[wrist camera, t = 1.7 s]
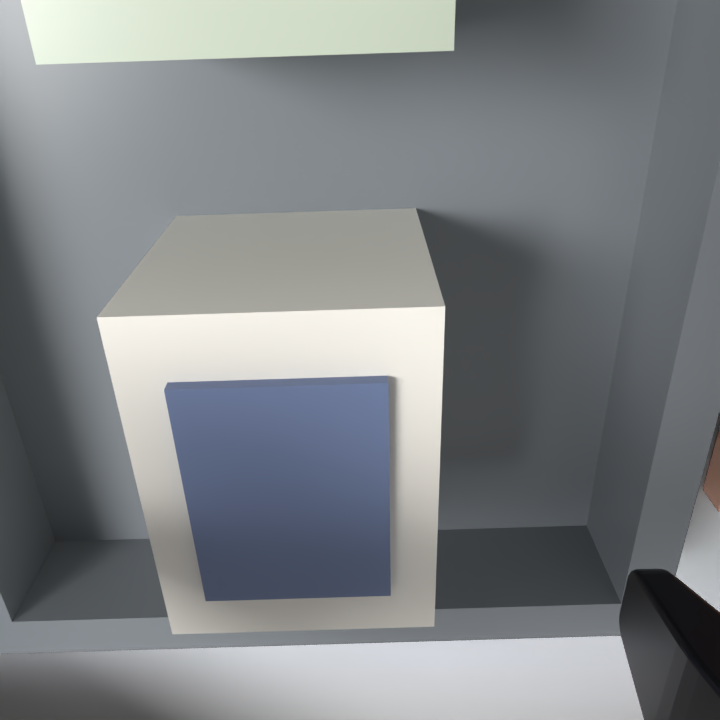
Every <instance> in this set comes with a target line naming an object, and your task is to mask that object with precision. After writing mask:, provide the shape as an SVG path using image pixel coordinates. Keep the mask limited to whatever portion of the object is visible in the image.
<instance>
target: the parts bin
mask: <svg viewBox="0 0 720 720" xmlns="http://www.w3.org/2000/svg"><path fill="white" fill-rule="evenodd" d="M406 208H416V210H417V214H418V217H419V220H420V224H421V227H422V230H423V234H424V237H425V240H426V244H427V247H428V250H429V254H430V257H431V260H432V264H433V267H434V270H435V274H436V277H437V281H438V284H439V287H440V291H441V294H442V297H443V301H444V304H445V329H444V358H443V387H442V417H441V446H440V476H439V505H438V534H437V564H436V593H435V622H434V627H407V628H373V629H339V630H305V631H272V632H238V633H204V634H172V631H171V627H170V622H169V618H168V614H167V610H166V606H165V601H164V597H163V593H162V589H161V585H160V581H159V576H158V572H157V568H156V564H155V560H154V555H153V551H152V547H151V543H150V539H149V535H148V530H147V526H146V522H145V518H144V514H143V510H142V505H141V501H140V497H139V493H138V489H137V484H136V480H135V476H134V472H133V468H132V464H131V459H130V455H129V451H128V447H127V443H126V438H125V434H124V430H123V426H122V422H121V418H120V413H119V409H118V405H117V401H116V397H115V393H114V388H113V384H112V380H111V376H110V372H109V367H108V363H107V359H106V355H105V351H104V347H103V342H102V338H101V334H100V330H99V326H98V321H97V316H98V315H99V314H100V312H101V311H102V310H103V309H104V307H105V306H106V305H107V304H108V302H109V301H110V300H111V298H112V297H113V296H114V295H115V293H116V292H117V291H118V289H119V288H120V287H121V286H122V284H123V283H124V282H125V281H126V279H127V278H128V277H129V275H130V274H131V273H132V272H133V270H134V269H135V268H136V267H137V265H138V264H139V263H140V261H141V260H142V259H143V258H144V256H145V255H146V254H147V253H148V251H149V250H150V249H151V247H152V246H153V245H154V244H155V242H156V241H157V240H158V238H159V237H160V236H161V235H162V233H163V232H164V231H165V230H166V228H167V227H168V226H169V224H170V223H171V222H172V221H173V219H174V218H175V217H176V216H190V215H221V214H252V213H283V212H313V211H344V210H375V209H406ZM719 412H720V0H456V5H455V35H454V51H431V52H401V53H371V54H341V55H311V56H281V57H251V58H221V59H191V60H161V61H131V62H101V63H71V64H41V65H36V62H35V58H34V54H33V50H32V46H31V42H30V37H29V33H28V29H27V25H26V21H25V16H24V12H23V8H22V4H21V0H0V654H14V653H48V652H82V651H115V650H149V649H183V648H217V647H250V646H284V645H318V644H352V643H386V642H419V641H453V640H487V639H521V638H555V637H588V636H621V634H620V628H619V614H620V609H621V605H622V600H623V596H624V591H625V587H626V582H627V578H628V575H629V574H630V572H631V571H633V570H635V569H665V570H667V571H669V572H670V573H672V574H673V575H674V576H675V575H676V571H677V568H678V564H679V560H680V557H681V553H682V549H683V546H684V542H685V538H686V534H687V531H688V527H689V523H690V520H691V516H692V512H693V508H694V505H695V501H696V497H697V494H698V490H699V486H700V482H701V479H702V475H703V471H704V468H705V464H706V460H707V456H708V453H709V449H710V445H711V442H712V438H713V434H714V430H715V427H716V423H717V419H718V416H719Z"/></svg>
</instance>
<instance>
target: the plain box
mask: <svg viewBox="0 0 720 720" xmlns="http://www.w3.org/2000/svg"><path fill="white" fill-rule="evenodd" d="M21 4H22V8H23V12H24V16H25V21H26V25H27V29H28V33H29V37H30V42H31V46H32V50H33V54H34V58H35V62H36V65H41V64H71V63H101V62H131V61H161V60H191V59H221V58H251V57H281V56H311V55H341V54H371V53H401V52H431V51H454V35H455V5H456V0H21Z"/></svg>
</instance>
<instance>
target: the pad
mask: <svg viewBox="0 0 720 720" xmlns="http://www.w3.org/2000/svg"><path fill="white" fill-rule="evenodd" d="M703 491H704V492H705V494H706V495H707V496H708V498H709V499H710V501H711V502H712V503H713V505H714V506H715V508H716V509H717V511H720V428H719V432H718V436H717V439H716V443H715V447H714V450H713V454H712V458H711V461H710V465H709V469H708V472H707V476H706V480H705V483H704V487H703Z"/></svg>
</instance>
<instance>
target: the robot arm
mask: <svg viewBox="0 0 720 720" xmlns="http://www.w3.org/2000/svg"><path fill="white" fill-rule="evenodd" d="M619 628H620V634H621V638H622V641H623V645H624V649H625V652H626V656H627V659H628V663H629V667H630V670H631V674H632V678H633V681H634V685H635V688H636V692H637V696H638V699H639V703H640V707H641V710H642V714H643V717H644V720H720V612H719V611H717V610H716V609H715V608H714V607H712V606H711V605H710V604H709V603H707V602H706V601H705V600H704V599H703V598H701V597H700V596H699V595H698V594H696V593H695V592H694V591H693V590H691V589H690V588H689V587H688V586H687V585H685V584H684V583H683V582H682V581H680V580H679V579H678V578H677V577H675V576H674V575H673V574H672V573H670V572H669V571H667V570H665V569H635V570H633V571H631V572H630V574H629V575H628V578H627V582H626V587H625V591H624V596H623V600H622V605H621V609H620V614H619Z"/></svg>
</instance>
